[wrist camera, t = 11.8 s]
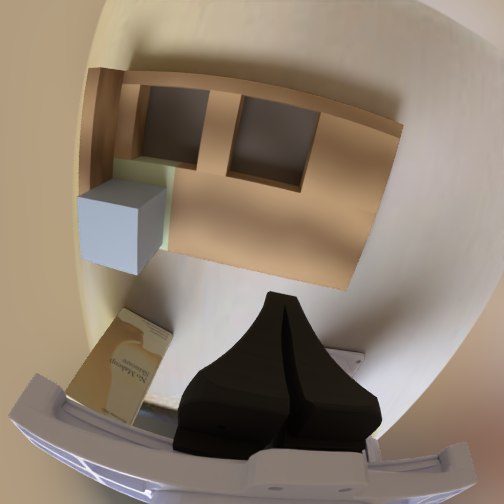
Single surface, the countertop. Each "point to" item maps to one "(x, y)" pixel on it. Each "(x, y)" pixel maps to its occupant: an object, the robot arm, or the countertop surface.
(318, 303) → the countertop surface
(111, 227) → the block
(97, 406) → the skincare box
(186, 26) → the countertop surface
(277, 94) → the board
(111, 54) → the countertop surface
